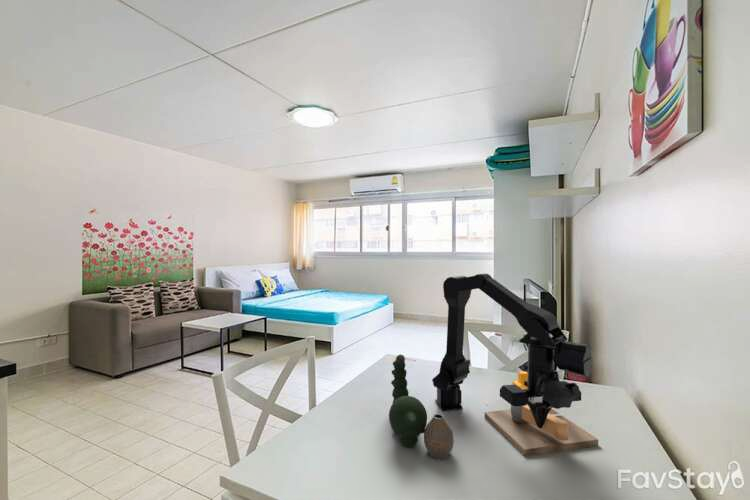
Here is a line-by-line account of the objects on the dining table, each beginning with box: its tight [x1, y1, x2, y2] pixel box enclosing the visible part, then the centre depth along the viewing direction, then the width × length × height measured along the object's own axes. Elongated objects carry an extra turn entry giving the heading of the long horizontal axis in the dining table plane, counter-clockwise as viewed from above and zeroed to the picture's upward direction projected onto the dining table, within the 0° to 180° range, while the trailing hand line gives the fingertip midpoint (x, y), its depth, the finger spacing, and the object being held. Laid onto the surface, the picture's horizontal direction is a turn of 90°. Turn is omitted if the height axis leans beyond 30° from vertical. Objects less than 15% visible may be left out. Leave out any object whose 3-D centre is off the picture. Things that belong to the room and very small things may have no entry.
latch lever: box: [510, 404, 568, 441], centre depth 85 cm, size 16×4×4 cm, turn 26°
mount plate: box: [484, 408, 599, 457], centre depth 88 cm, size 20×18×3 cm
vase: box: [423, 413, 455, 459], centre depth 79 cm, size 7×7×9 cm
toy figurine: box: [388, 354, 428, 448], centre depth 88 cm, size 9×19×25 cm
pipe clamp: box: [512, 370, 528, 389], centre depth 107 cm, size 12×4×6 cm, turn 1°
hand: (539, 427), depth 82 cm, fingers closed
